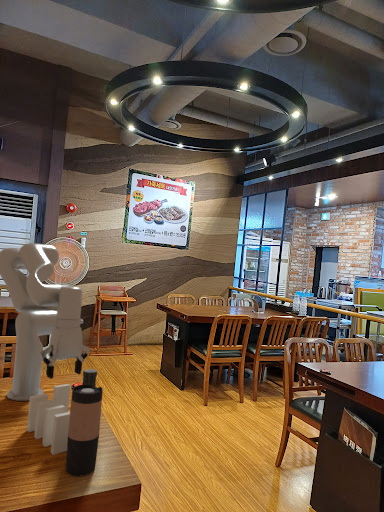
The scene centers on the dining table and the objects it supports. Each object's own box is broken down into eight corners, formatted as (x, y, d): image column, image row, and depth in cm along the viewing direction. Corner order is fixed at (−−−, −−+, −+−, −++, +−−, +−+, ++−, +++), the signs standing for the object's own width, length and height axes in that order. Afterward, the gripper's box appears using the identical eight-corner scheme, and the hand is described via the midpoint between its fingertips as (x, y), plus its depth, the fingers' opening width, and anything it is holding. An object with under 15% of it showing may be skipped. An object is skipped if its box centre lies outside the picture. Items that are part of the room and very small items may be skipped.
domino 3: (51, 416, 125) (53, 386, 125) (65, 413, 129) (68, 383, 129) (53, 418, 124) (56, 387, 124) (67, 415, 128) (70, 385, 128)
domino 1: (26, 430, 114) (29, 396, 115) (43, 426, 118) (46, 393, 118) (28, 432, 113) (32, 398, 113) (45, 428, 117) (48, 395, 117)
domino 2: (34, 437, 110) (37, 402, 111) (50, 432, 114) (53, 399, 114) (36, 439, 109) (39, 404, 109) (53, 434, 113) (56, 400, 113)
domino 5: (50, 452, 102) (53, 415, 103) (67, 447, 106) (71, 411, 106) (53, 454, 101) (56, 417, 102) (70, 449, 105) (74, 413, 105)
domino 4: (42, 444, 106) (45, 408, 107) (59, 439, 110) (62, 404, 110) (44, 446, 105) (47, 410, 106) (61, 442, 109) (64, 406, 109)
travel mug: (66, 479, 91) (73, 394, 91) (63, 462, 98) (70, 384, 98) (98, 474, 94) (105, 393, 94) (93, 459, 101) (100, 383, 101)
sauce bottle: (88, 445, 108) (94, 375, 108) (68, 441, 109) (74, 372, 110) (98, 435, 114) (104, 369, 115) (79, 432, 116) (85, 366, 116)
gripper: (85, 321, 136) (82, 369, 135) (37, 323, 124) (33, 376, 123) (96, 324, 130) (93, 374, 130) (47, 326, 118) (43, 382, 118)
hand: (64, 375), depth 126 cm, fingers open, 9 cm apart
